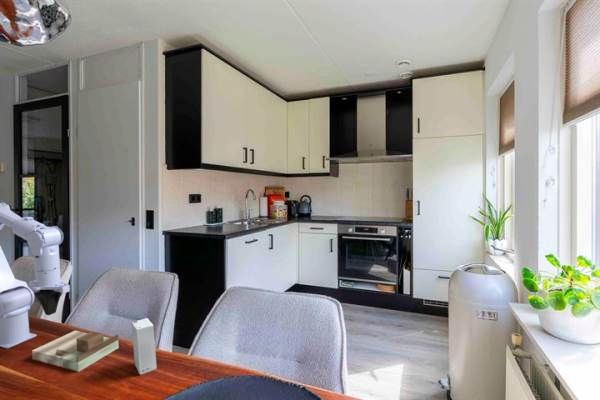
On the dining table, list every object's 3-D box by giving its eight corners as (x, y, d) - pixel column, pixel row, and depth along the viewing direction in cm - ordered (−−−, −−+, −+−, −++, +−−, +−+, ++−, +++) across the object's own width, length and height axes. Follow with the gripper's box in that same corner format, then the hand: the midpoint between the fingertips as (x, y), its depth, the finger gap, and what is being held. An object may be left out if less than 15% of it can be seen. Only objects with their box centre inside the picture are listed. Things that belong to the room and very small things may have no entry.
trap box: (32, 359, 88) (31, 345, 87) (75, 338, 99) (74, 325, 99) (78, 371, 82) (77, 356, 82) (118, 347, 93) (118, 334, 93)
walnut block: (77, 350, 87) (76, 338, 87) (92, 342, 91) (91, 331, 91) (88, 353, 86) (88, 341, 85) (103, 345, 90) (103, 333, 90)
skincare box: (157, 369, 83) (155, 324, 82) (138, 376, 80) (136, 330, 79) (151, 358, 87) (149, 316, 86) (133, 365, 84) (131, 321, 84)
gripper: (15, 270, 90) (19, 316, 91) (50, 275, 86) (53, 323, 87) (42, 263, 97) (45, 306, 98) (75, 267, 92) (78, 312, 93)
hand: (50, 313), depth 93 cm, fingers closed
